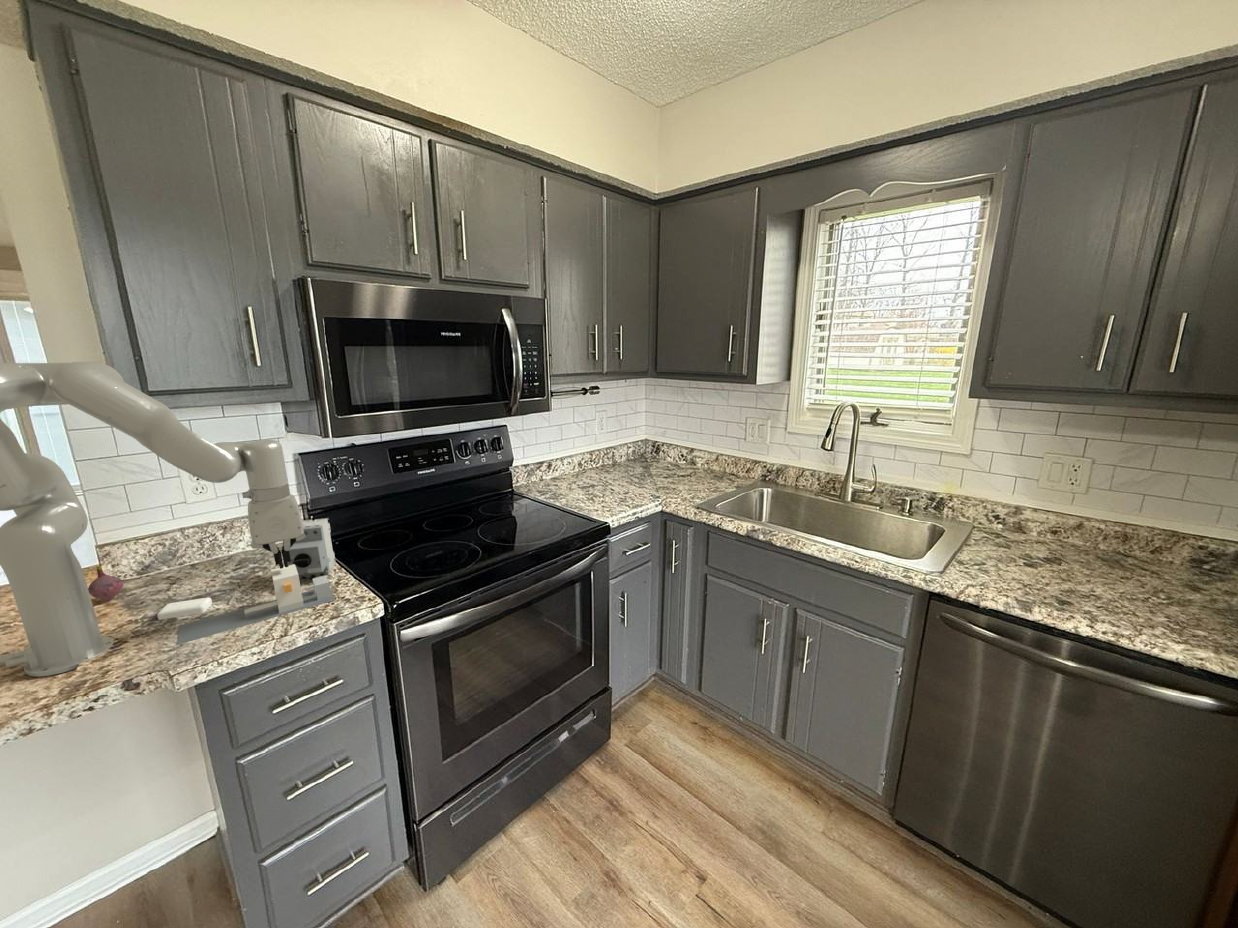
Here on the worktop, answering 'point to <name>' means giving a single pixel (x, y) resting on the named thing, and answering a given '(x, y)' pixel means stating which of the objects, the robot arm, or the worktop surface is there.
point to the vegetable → (105, 586)
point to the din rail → (274, 605)
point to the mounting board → (233, 621)
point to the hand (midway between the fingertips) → (283, 565)
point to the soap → (184, 608)
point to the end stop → (322, 587)
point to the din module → (287, 588)
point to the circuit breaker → (313, 549)
